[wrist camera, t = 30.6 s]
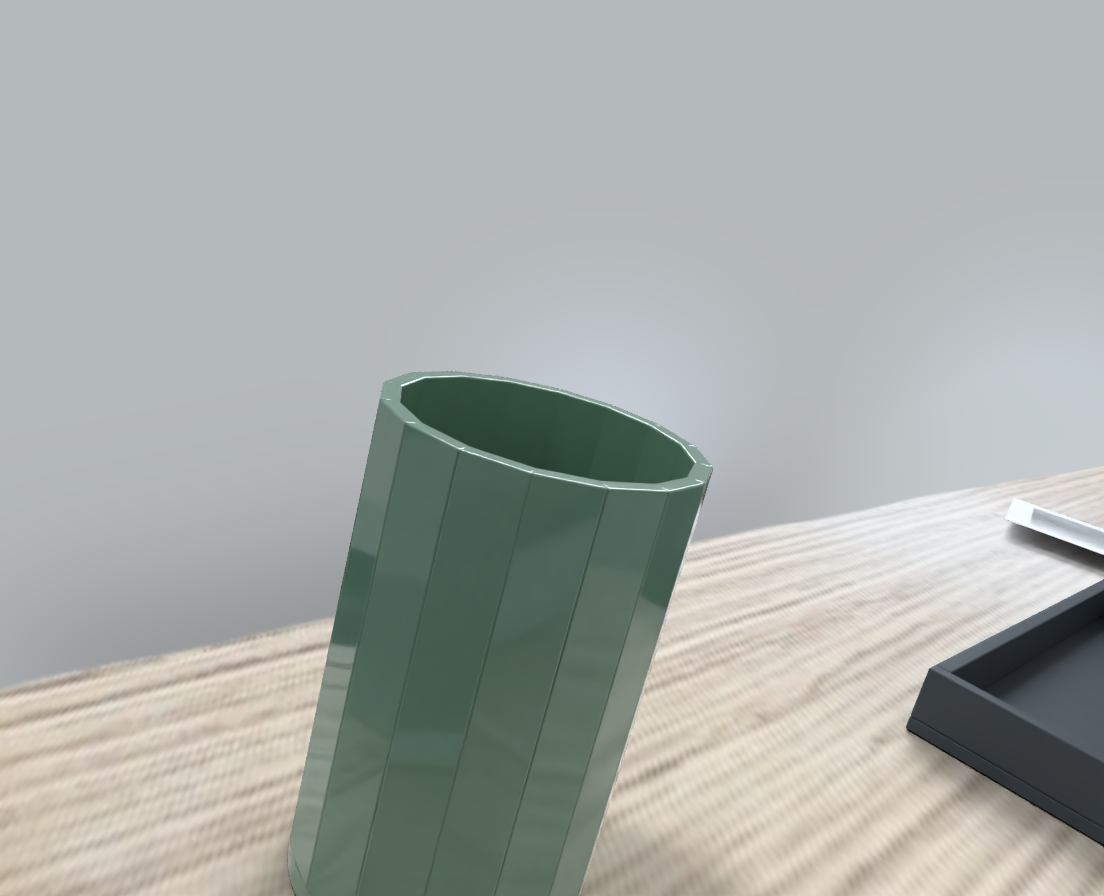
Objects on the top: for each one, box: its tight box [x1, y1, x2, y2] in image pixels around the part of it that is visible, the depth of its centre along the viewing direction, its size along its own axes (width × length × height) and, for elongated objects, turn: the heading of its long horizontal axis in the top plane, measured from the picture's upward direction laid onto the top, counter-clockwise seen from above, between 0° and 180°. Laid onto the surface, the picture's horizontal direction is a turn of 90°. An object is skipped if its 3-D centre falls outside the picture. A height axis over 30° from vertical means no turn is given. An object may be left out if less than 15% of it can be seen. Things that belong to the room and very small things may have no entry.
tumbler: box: [287, 371, 713, 896], centre depth 22 cm, size 7×7×11 cm
